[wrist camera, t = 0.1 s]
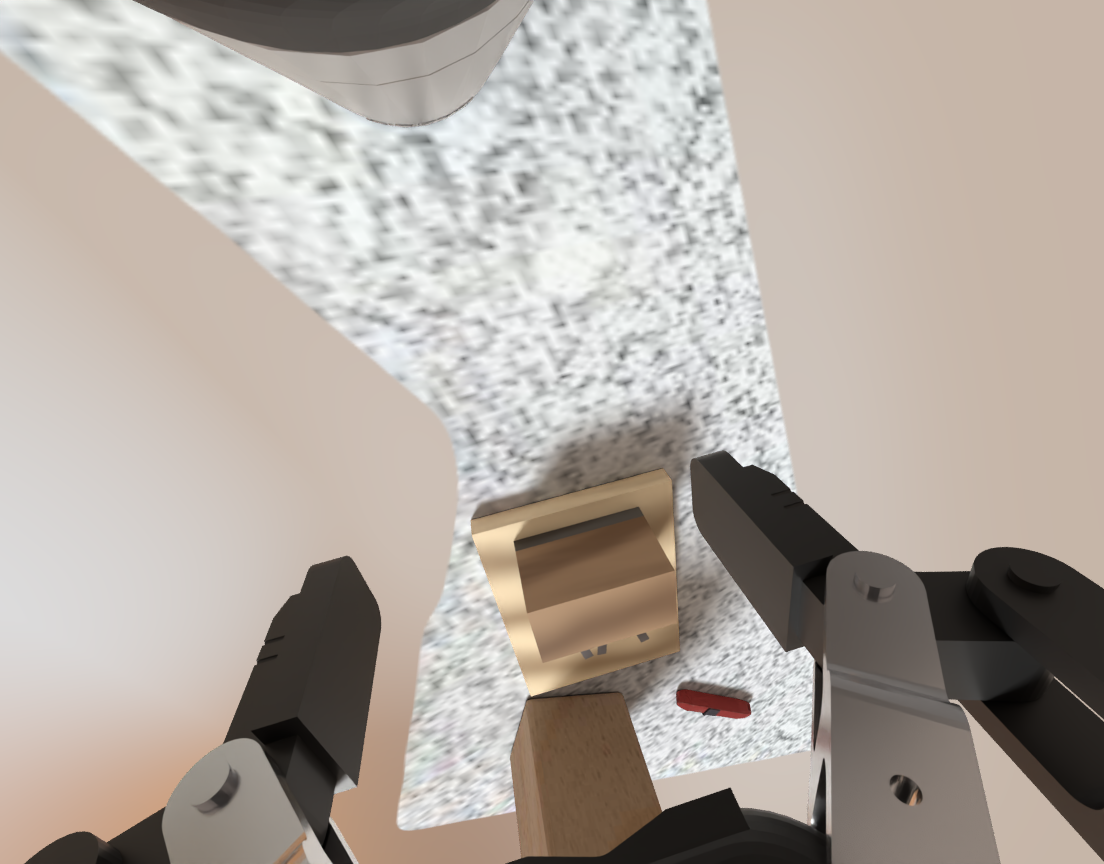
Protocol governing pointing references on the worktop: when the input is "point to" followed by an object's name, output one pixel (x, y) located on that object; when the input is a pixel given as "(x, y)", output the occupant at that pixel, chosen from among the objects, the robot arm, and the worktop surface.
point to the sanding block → (595, 583)
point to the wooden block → (579, 777)
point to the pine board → (522, 522)
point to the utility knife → (712, 704)
